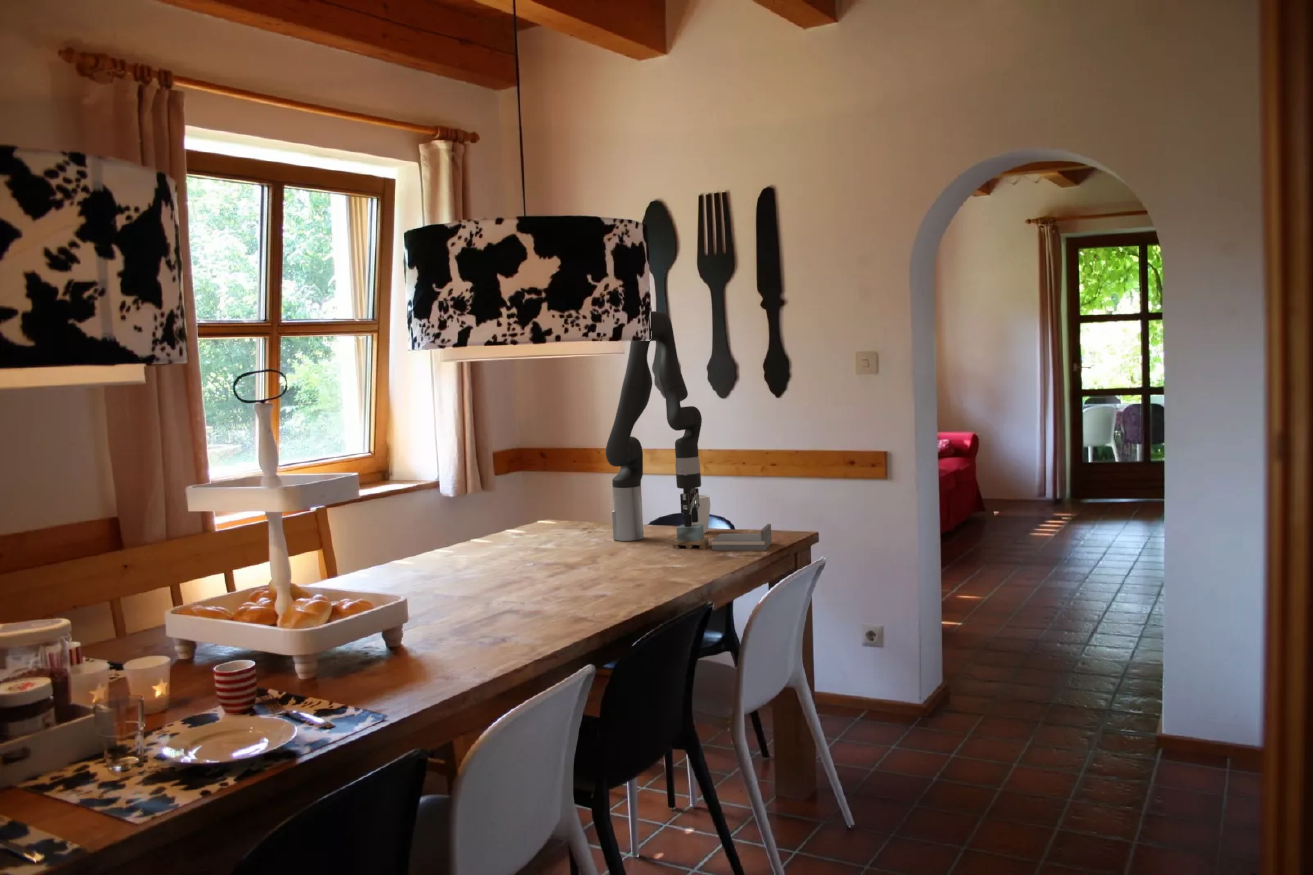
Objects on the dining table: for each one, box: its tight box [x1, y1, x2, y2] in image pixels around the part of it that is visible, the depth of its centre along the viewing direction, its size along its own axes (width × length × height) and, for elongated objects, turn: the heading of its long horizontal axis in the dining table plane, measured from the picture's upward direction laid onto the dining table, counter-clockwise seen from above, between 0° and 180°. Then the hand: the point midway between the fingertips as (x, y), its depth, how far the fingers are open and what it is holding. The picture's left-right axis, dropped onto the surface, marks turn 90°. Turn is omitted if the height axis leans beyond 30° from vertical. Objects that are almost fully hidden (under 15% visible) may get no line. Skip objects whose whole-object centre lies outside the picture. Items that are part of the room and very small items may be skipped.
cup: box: [686, 494, 711, 534], centre depth 350 cm, size 9×9×12 cm
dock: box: [711, 523, 773, 552], centre depth 320 cm, size 16×12×6 cm
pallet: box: [672, 524, 710, 550], centre depth 324 cm, size 10×6×6 cm, turn 74°
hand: (691, 524), depth 324 cm, fingers open, 8 cm apart
